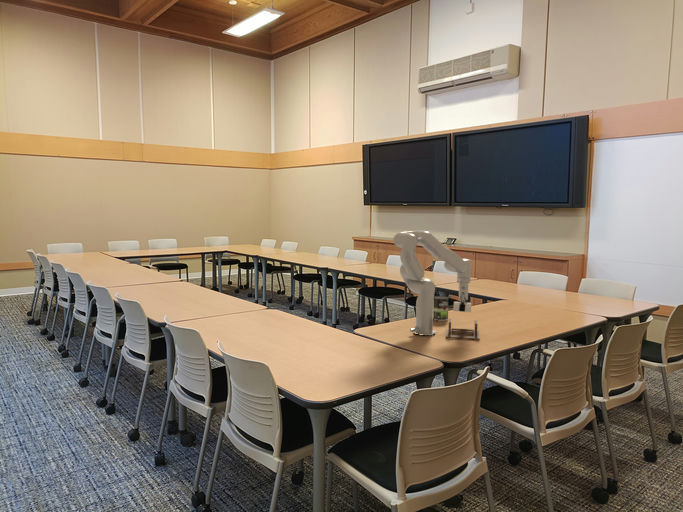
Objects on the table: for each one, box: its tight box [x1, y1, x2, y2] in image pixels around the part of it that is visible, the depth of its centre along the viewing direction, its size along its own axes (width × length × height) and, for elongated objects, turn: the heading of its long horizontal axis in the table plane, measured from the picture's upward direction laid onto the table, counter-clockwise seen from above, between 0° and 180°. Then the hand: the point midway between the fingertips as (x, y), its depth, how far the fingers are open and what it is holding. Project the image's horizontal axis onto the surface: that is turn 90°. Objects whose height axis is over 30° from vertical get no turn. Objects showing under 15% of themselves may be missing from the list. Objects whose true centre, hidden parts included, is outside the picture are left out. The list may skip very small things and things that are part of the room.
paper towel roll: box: [452, 301, 472, 313], centre depth 282 cm, size 10×6×6 cm, turn 76°
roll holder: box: [445, 318, 481, 341], centre depth 267 cm, size 18×16×8 cm
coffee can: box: [433, 295, 449, 322], centre depth 305 cm, size 10×10×14 cm
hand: (462, 309), depth 282 cm, fingers closed on paper towel roll, 5 cm apart
